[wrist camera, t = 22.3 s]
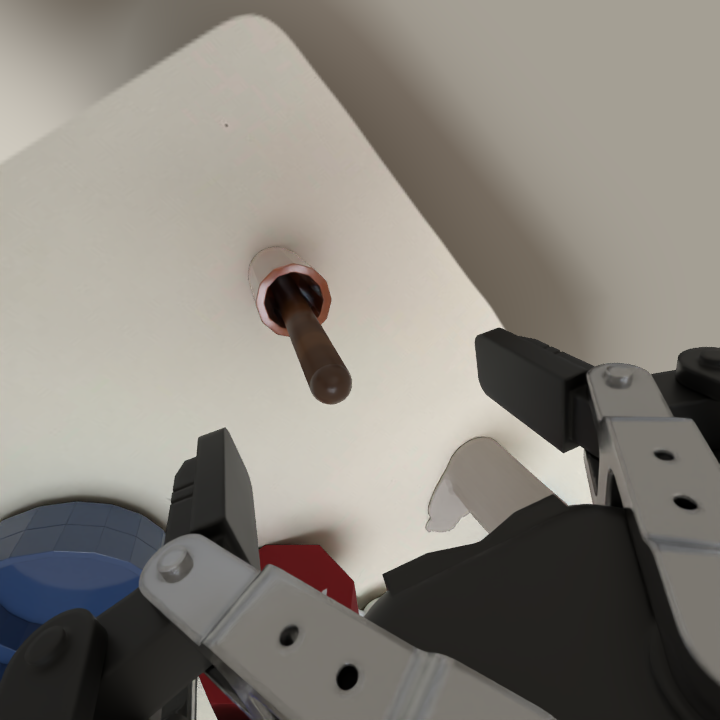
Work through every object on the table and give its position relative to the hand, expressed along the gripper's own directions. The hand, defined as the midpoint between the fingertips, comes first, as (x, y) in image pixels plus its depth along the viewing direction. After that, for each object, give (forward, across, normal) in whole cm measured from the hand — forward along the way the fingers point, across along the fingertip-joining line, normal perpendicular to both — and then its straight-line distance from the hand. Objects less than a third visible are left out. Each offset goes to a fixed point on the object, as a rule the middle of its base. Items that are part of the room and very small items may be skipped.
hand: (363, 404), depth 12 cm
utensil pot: (+22, 0, 0) cm, 22 cm away
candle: (+22, -13, +30) cm, 40 cm away
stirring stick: (+22, 0, 0) cm, 22 cm away
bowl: (+22, +25, +20) cm, 39 cm away
